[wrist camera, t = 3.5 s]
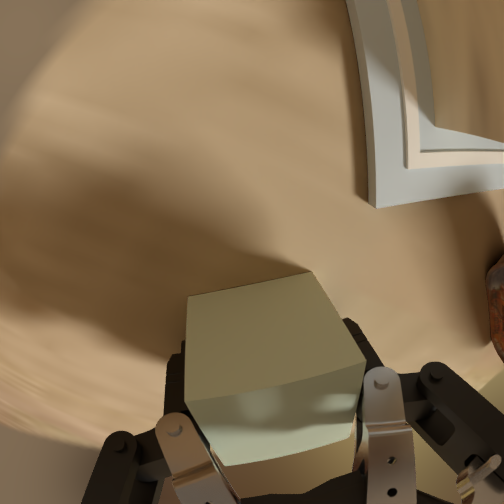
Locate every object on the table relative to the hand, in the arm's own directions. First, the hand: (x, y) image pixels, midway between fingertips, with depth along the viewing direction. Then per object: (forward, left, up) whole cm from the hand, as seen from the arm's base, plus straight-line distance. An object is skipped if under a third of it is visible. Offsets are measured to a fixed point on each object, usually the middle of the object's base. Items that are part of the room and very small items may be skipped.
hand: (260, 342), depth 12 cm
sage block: (0, 0, -1) cm, 1 cm away
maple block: (-11, -11, 0) cm, 15 cm away
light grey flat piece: (-11, -11, -1) cm, 16 cm away
